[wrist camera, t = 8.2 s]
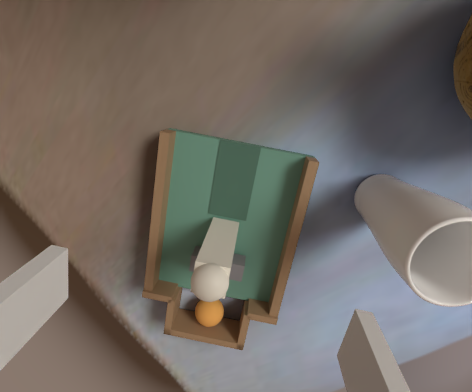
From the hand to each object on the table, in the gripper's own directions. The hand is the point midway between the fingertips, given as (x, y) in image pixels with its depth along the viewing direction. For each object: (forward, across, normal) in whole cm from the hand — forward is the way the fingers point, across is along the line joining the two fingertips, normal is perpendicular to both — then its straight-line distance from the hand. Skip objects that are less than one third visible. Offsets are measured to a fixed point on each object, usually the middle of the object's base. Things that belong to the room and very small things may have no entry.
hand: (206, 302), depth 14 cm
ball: (+20, 0, -18) cm, 26 cm away
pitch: (+22, 0, -8) cm, 23 cm away
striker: (+20, 0, -8) cm, 22 cm away
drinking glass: (+22, +15, +1) cm, 27 cm away
